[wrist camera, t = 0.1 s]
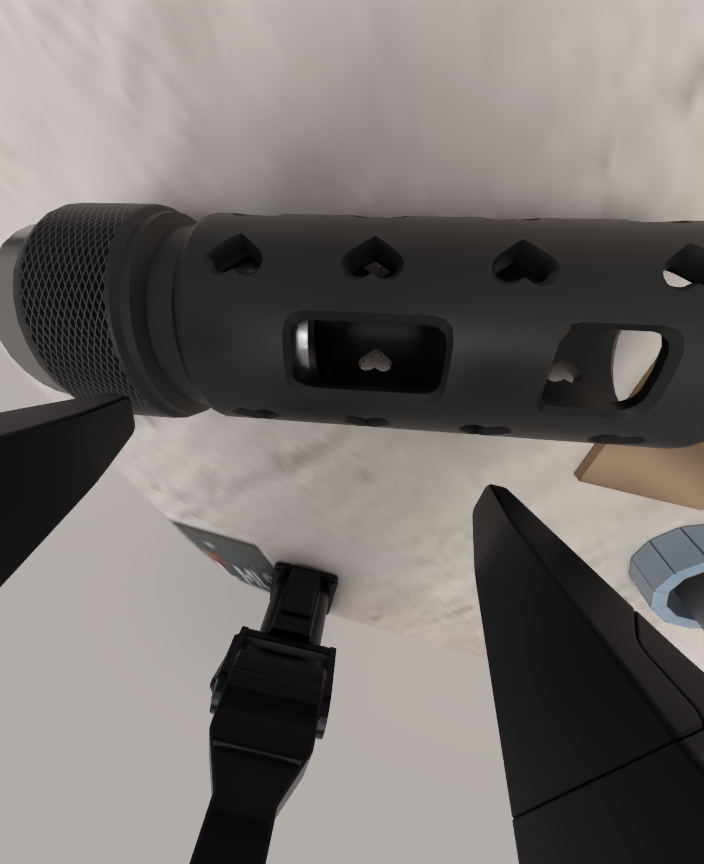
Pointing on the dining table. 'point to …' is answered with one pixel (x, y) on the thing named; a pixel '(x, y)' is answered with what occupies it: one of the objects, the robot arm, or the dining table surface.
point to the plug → (693, 596)
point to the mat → (648, 470)
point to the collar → (669, 571)
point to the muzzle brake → (363, 318)
